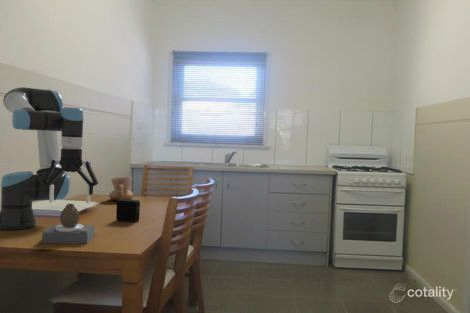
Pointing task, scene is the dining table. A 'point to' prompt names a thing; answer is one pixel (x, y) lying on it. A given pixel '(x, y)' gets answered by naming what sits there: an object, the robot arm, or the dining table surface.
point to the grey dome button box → (68, 234)
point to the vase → (69, 216)
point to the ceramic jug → (121, 188)
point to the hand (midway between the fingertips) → (69, 202)
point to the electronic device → (128, 210)
